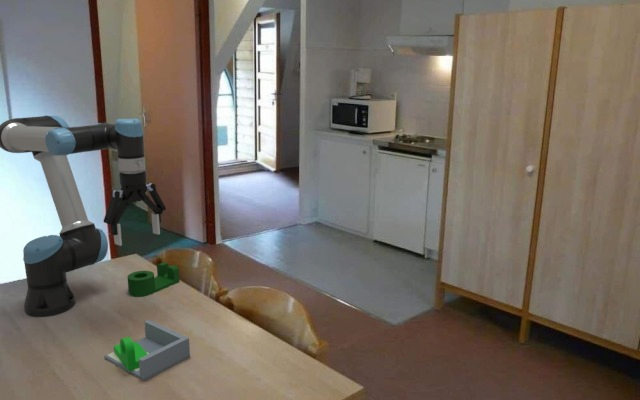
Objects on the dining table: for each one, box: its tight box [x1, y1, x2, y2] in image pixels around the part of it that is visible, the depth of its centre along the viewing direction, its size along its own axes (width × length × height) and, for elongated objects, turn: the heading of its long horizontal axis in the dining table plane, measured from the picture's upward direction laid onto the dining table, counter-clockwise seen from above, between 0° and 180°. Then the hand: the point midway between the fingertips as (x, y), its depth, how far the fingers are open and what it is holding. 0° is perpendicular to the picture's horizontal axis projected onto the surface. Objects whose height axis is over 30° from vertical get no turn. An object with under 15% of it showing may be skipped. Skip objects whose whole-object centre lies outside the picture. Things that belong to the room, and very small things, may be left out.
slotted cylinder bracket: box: [127, 262, 181, 298], centre depth 197 cm, size 18×9×6 cm, turn 147°
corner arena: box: [103, 319, 191, 382], centre depth 150 cm, size 18×15×6 cm
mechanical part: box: [113, 336, 148, 371], centre depth 148 cm, size 12×6×8 cm, turn 37°
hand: (138, 239), depth 167 cm, fingers open, 13 cm apart
